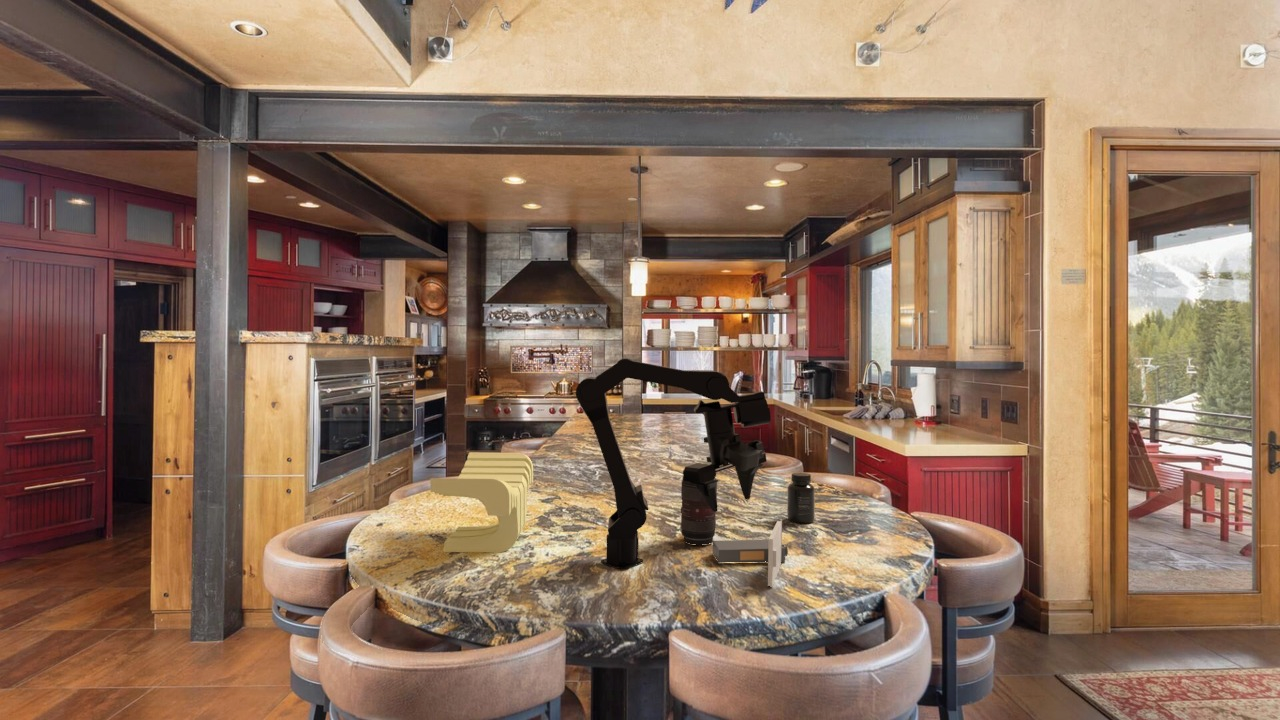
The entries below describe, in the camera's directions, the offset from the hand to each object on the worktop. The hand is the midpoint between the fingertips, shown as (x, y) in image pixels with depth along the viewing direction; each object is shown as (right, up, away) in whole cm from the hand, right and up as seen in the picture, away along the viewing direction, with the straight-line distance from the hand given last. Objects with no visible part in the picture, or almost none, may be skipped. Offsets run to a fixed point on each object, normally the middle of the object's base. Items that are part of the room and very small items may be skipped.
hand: (731, 505), depth 130 cm
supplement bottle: (+23, -12, +32) cm, 41 cm away
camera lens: (-6, -12, +14) cm, 19 cm away
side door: (+8, -12, -6) cm, 16 cm away
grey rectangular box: (+5, -12, +3) cm, 13 cm away
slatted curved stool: (-54, -12, +13) cm, 56 cm away
